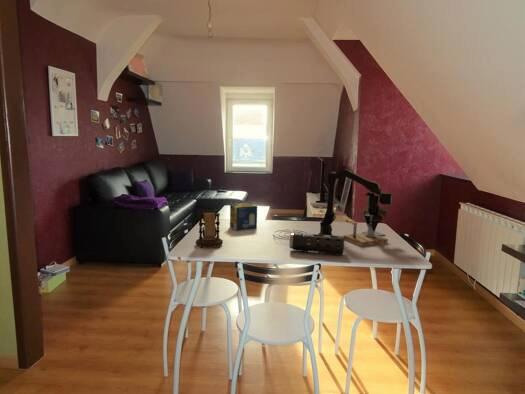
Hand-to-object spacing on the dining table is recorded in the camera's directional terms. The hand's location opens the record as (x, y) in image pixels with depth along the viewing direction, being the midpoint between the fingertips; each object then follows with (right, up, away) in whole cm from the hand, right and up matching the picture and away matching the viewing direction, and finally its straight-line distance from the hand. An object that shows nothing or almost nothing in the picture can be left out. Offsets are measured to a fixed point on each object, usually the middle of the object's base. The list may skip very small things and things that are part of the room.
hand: (371, 229), depth 225 cm
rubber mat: (+6, -5, +17) cm, 18 cm away
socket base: (-4, -7, -1) cm, 8 cm away
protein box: (-78, -2, +25) cm, 82 cm away
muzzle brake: (-37, -11, -25) cm, 46 cm away
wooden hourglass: (-95, -8, -17) cm, 97 cm away
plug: (0, -7, +1) cm, 7 cm away
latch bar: (-12, -3, +5) cm, 13 cm away
